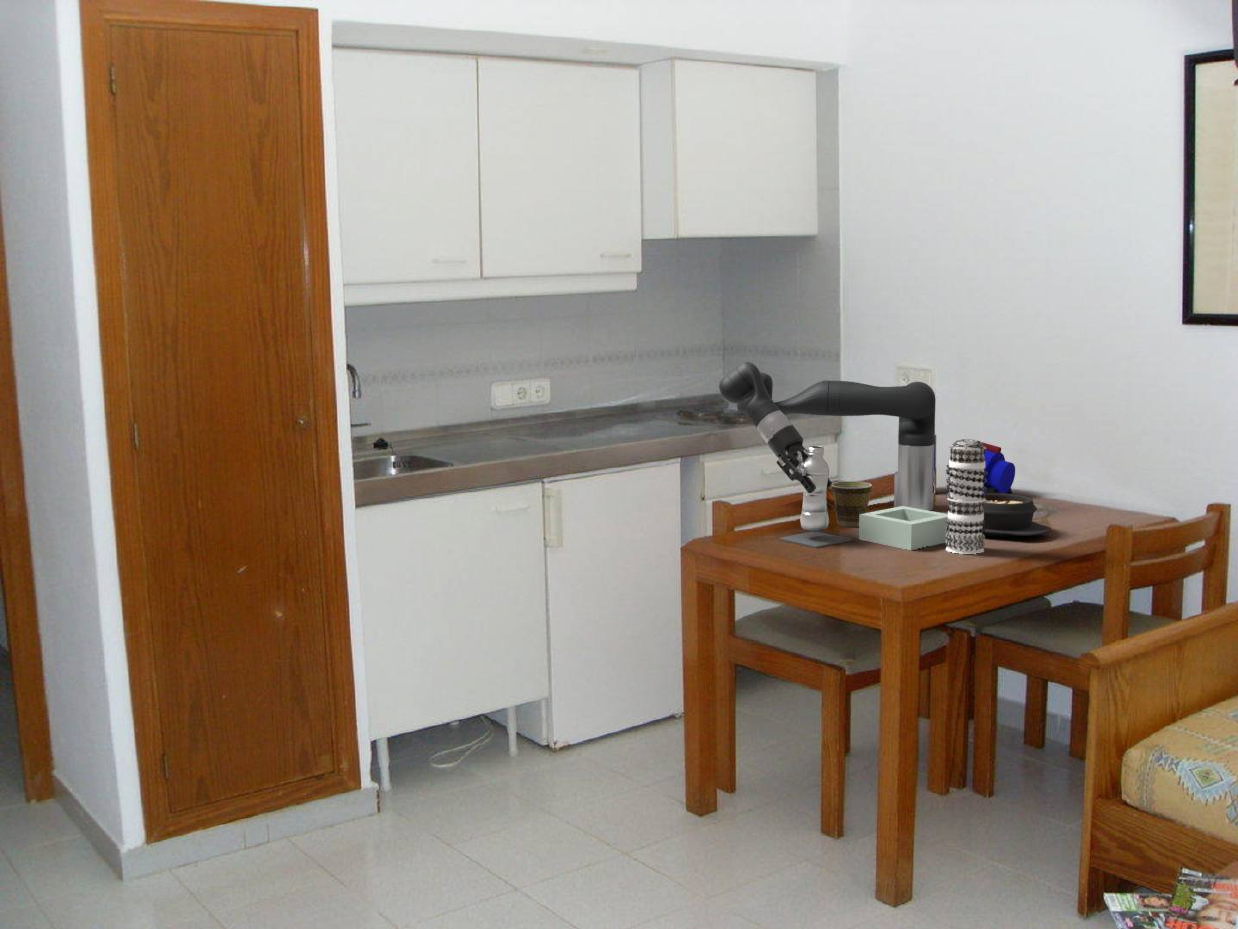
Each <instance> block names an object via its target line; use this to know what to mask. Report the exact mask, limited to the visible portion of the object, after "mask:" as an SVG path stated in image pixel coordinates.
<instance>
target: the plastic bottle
mask: <svg viewBox="0 0 1238 929" xmlns="http://www.w3.org/2000/svg"><path fill="white" fill-rule="evenodd" d="M807 450H808V452H807V455H808V458H807V459H806V460H805V462H804V468H803V469H804V471H805V473H806V475H805V476H808V477H809V478H810V480H811V481H812V482H813V484H814V485H815V486H816V489H815V490H814V491H813V492H812V493H808V492H807V490H806V489H805V488H804V486H803V485H802V495H803V496H802V508H801V512H800V513H801V514H800V517H799V518H800V527H801V528H802V529H803V530H805V531H808V532H823V531H825V530H827V529H828V527H829V523H830V519H829V518H830V517H829V512H828V503H827V501H828V500H827V492H828V490H827V483H828V478H830V477H829V474H830V467H829V465H828V463H827V461H826V460H825V459H824V455H825V451H824V450H825V447H824V446H822V445H809V446H807Z"/></svg>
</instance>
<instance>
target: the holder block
mask: <svg viewBox="0 0 1238 929" xmlns="http://www.w3.org/2000/svg"><path fill="white" fill-rule="evenodd" d="M947 519H948V513H945V512H938V511H932V510H930V511H928V510H922V509H917V508H911V507H905V506H900V507H895V508H894V507H891V508H886V509H880V510H876V511H871V512H867V513H864V514H859V526H858V540H861V541H864V542H870V543H873V544H879V545H884V546H888V547H893V548H898V549H903V550H906V549H907V550H906V551H915V550H919V549H918V548H920V549H923V548H922V547H924V548H927V547H926V546H929V547H932V546H937V545H941V544H946V540H947V538H946V533H948V530H946V526H948V525H949V524H947V523H946V520H947Z"/></svg>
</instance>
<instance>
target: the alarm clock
mask: <svg viewBox="0 0 1238 929" xmlns="http://www.w3.org/2000/svg"><path fill="white" fill-rule="evenodd" d="M981 442H982V444H983V446H984V447H986V448H987V449H985V468H984V470H986V472H988V475H986V476H985V478H986V479H987V480H988V481H987V482H986V483H985V482H984V483H983V486H984V487H986V488H987V490H986V491H985V492H983V493H1005V494H1013V491H1012V486H1013V484H1014V480H1015V477H1016V466H1015V463H1013V462H1010V461H1007V460H1006V458H1005V455H1004V453H1002V447H1001V446H997V445H993V444H990V443H987V442H983V441H981Z"/></svg>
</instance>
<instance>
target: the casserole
mask: <svg viewBox="0 0 1238 929" xmlns="http://www.w3.org/2000/svg"><path fill="white" fill-rule="evenodd" d="M984 494H985V495H986V496H987V497H986V498H985V499H986V501H984V502H983V512H984V520H985V525H983V527H984V528H985V531H984V532H982V533H983V534H984V535H986V536H987V537H995V538H1012V537H1019V536H1021V537H1022V536H1024V537H1027V536H1028V537H1029V536H1039V535H1044V534H1046V533H1050V532H1051V531H1052V527H1050V526H1047V525H1044V524H1040V523H1038V522H1035V521H1033V517H1034V513H1035V512H1036V511H1037V510H1038V508H1037V506H1036V505H1035V503H1034V500H1033V498H1031V497H1028V496H1025V495H1020V494H1013V493H1012V494H1006V493H984ZM986 536H985V537H986Z"/></svg>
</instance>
